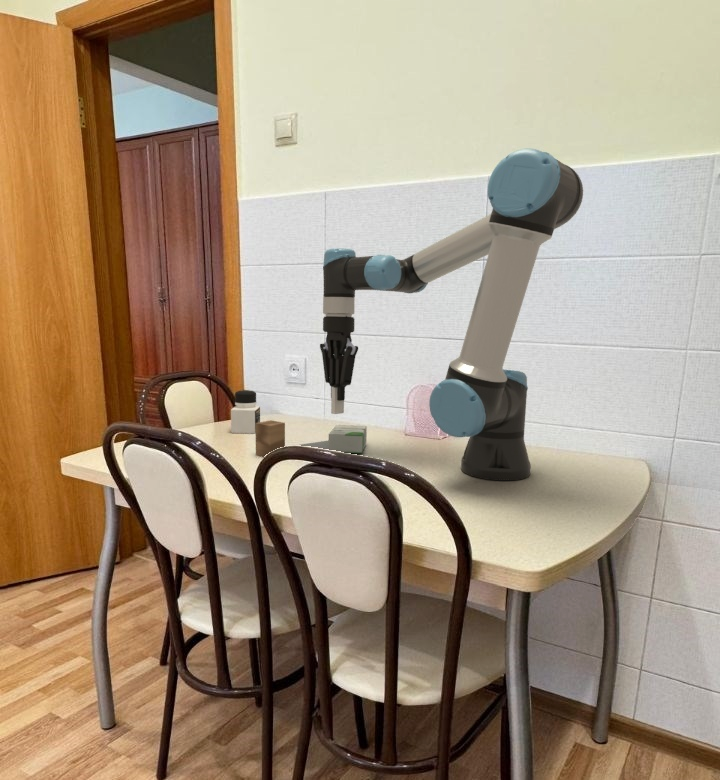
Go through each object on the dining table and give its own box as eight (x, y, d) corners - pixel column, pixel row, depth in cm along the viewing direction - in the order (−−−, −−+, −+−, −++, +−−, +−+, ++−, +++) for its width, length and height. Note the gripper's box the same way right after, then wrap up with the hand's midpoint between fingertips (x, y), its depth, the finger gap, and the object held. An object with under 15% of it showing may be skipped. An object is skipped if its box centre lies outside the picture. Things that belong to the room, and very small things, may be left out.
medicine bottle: (255, 433, 161) (255, 392, 159) (230, 433, 161) (230, 392, 159) (260, 429, 168) (260, 389, 166) (236, 428, 168) (236, 388, 167)
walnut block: (284, 454, 138) (284, 422, 137) (269, 458, 134) (269, 425, 133) (270, 451, 141) (270, 420, 140) (255, 455, 137) (255, 423, 136)
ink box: (362, 454, 138) (367, 443, 149) (362, 434, 137) (367, 425, 149) (327, 452, 139) (335, 442, 150) (327, 433, 138) (335, 424, 150)
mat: (360, 450, 143) (361, 448, 143) (300, 460, 133) (300, 458, 133) (333, 441, 153) (333, 439, 153) (275, 449, 142) (275, 448, 142)
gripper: (368, 316, 131) (366, 415, 134) (336, 315, 141) (334, 408, 144) (341, 315, 126) (340, 418, 129) (310, 315, 136) (310, 410, 139)
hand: (337, 413), depth 137 cm, fingers closed
